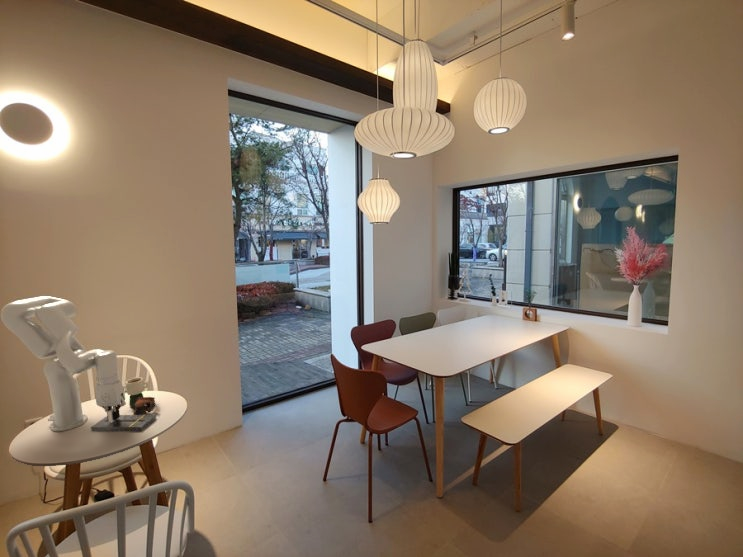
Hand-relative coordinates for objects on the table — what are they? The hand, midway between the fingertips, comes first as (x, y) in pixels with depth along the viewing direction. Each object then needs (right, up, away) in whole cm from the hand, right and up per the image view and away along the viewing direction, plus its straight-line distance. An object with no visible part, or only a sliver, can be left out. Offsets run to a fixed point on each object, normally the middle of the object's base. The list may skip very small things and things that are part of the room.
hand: (113, 418), depth 157 cm
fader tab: (0, -1, 0) cm, 1 cm away
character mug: (-2, -1, +18) cm, 18 cm away
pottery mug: (+7, -2, +12) cm, 14 cm away
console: (+5, -3, 0) cm, 5 cm away
